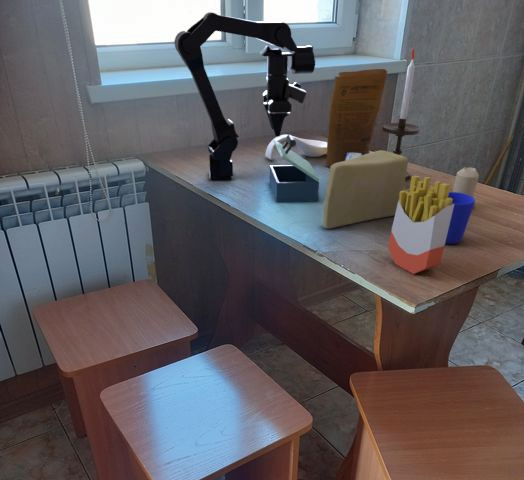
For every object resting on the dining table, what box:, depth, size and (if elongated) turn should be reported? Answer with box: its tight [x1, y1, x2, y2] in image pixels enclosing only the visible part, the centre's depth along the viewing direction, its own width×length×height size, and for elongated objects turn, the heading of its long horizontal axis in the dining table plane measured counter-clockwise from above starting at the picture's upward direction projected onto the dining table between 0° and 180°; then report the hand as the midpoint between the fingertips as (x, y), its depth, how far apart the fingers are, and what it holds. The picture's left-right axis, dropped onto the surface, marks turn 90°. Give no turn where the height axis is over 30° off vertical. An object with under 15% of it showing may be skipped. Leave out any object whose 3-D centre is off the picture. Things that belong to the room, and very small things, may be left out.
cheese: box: [322, 150, 409, 230], centre depth 125 cm, size 22×10×15 cm, turn 127°
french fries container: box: [388, 175, 454, 275], centre depth 103 cm, size 5×11×18 cm, turn 31°
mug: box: [445, 191, 476, 245], centre depth 117 cm, size 8×12×10 cm
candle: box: [452, 166, 480, 198], centre depth 136 cm, size 6×6×10 cm
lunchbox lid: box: [274, 134, 321, 183], centre depth 140 cm, size 12×16×5 cm
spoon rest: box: [264, 134, 327, 161], centre depth 175 cm, size 24×12×7 cm, turn 114°
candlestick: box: [382, 46, 421, 181], centre depth 150 cm, size 11×11×35 cm
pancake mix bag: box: [325, 68, 388, 167], centre depth 161 cm, size 7×19×28 cm, turn 109°
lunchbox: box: [268, 164, 320, 203], centre depth 145 cm, size 11×16×5 cm
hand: (275, 132), depth 153 cm, fingers open, 9 cm apart
